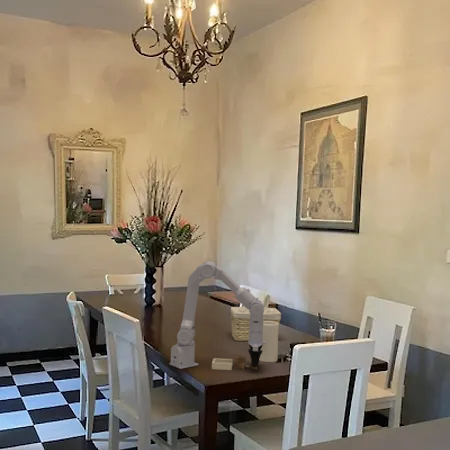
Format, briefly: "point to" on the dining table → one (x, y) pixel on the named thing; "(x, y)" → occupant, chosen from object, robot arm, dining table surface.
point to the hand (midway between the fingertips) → (255, 364)
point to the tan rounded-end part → (241, 363)
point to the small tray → (222, 364)
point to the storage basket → (242, 321)
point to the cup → (270, 342)
